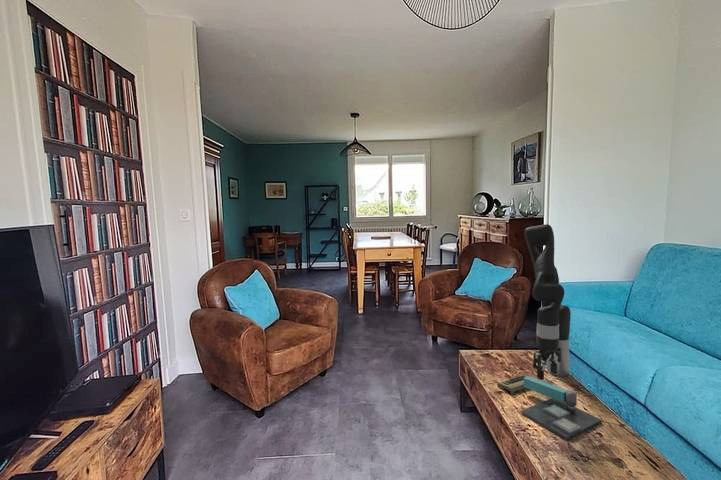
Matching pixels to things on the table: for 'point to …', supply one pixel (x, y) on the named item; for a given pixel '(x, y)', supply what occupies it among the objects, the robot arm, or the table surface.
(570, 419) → the board
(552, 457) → the table surface
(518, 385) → the computer
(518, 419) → the table surface
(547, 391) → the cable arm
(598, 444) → the table surface
